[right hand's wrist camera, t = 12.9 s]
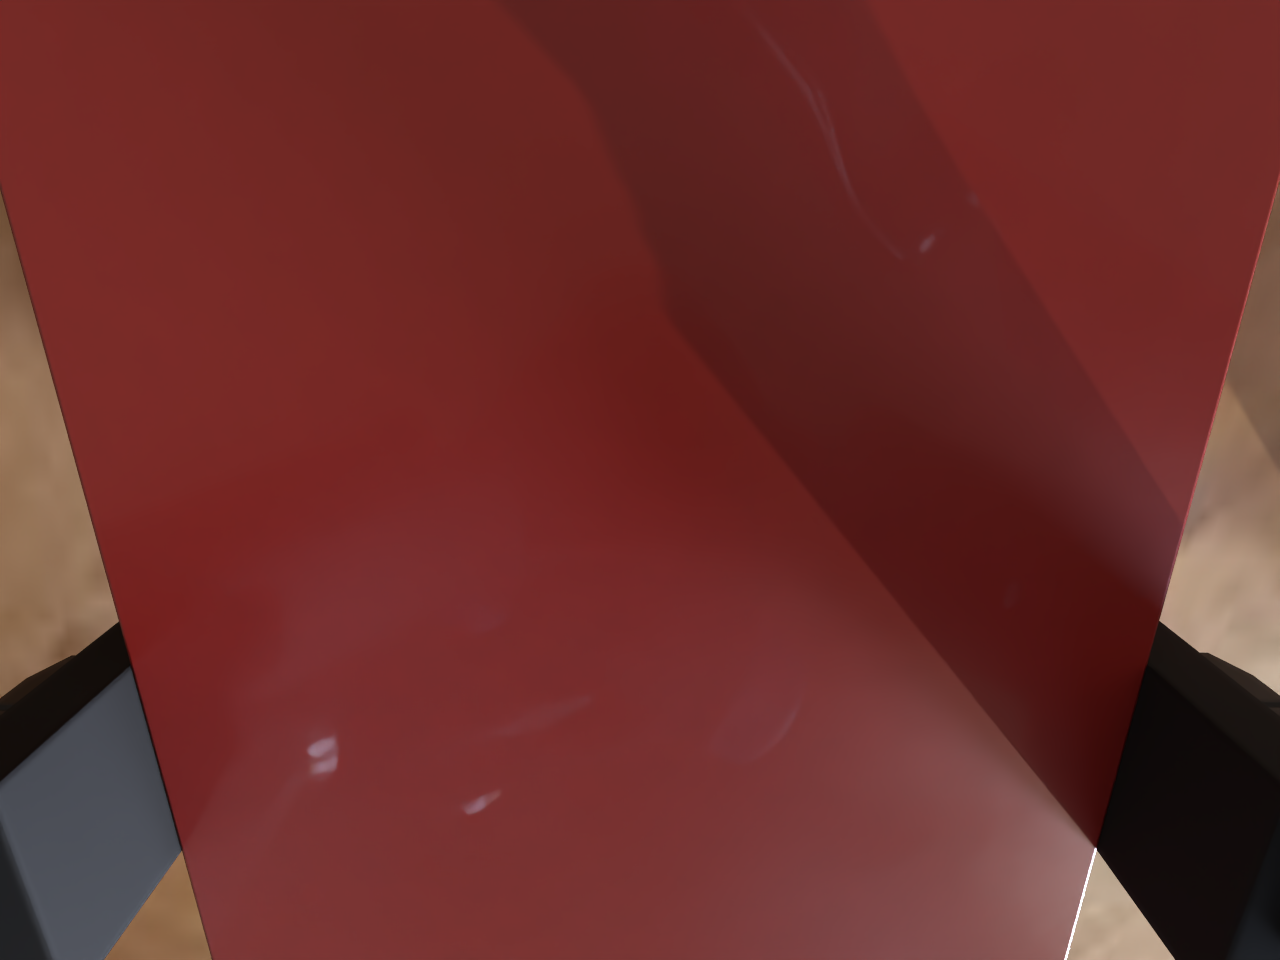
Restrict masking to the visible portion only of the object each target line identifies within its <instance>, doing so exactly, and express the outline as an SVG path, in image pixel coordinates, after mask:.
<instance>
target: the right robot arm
mask: <svg viewBox="0 0 1280 960" xmlns="http://www.w3.org/2000/svg"><path fill="white" fill-rule="evenodd" d="M181 851H182V848H181V845H180V841H179V838H178V834H177V830H176V827H175V823H174V819H173V816H172V812H171V808H170V805H169V801H168V798H167V794H166V790H165V787H164V783H163V779H162V776H161V772H160V768H159V765H158V761H157V757H156V754H155V750H154V747H153V743H152V739H151V736H150V732H149V728H148V725H147V721H146V717H145V714H144V710H143V707H142V703H141V699H140V696H139V692H138V688H137V685H136V681H135V677H134V674H133V670H132V667H131V663H130V659H129V656H128V652H127V648H126V645H125V641H124V637H123V634H122V630H121V627H120V623H119V622H118V623H117V624H115V625H114V626H113V627H111V628H110V629H109V630H108V631H106V632H105V633H104V634H103V635H101V636H100V637H99V638H98V639H96V640H95V641H94V642H92V643H91V644H90V645H89V646H87V647H86V648H85V649H84V650H82V651H81V652H80V653H79V654H77V655H76V656H70V657H68V658H66V659H64V660H62V661H60V662H58V663H56V664H54V665H52V666H50V667H48V668H46V669H44V670H42V671H40V672H38V673H36V674H34V675H32V676H30V677H28V678H26V679H25V680H24V681H23V682H21V683H20V684H19V685H17V686H16V687H15V688H13V689H12V690H11V691H9V692H8V693H7V694H6V695H4V696H3V697H2V698H0V960H104V959H105V957H106V956H107V955H108V953H109V952H110V950H111V949H112V948H113V946H114V945H115V943H116V942H117V941H118V939H119V938H120V936H121V935H122V934H123V932H124V931H125V929H126V928H127V927H128V925H129V924H130V922H131V921H132V920H133V918H134V917H135V915H136V914H137V913H138V911H139V910H140V908H141V907H142V906H143V904H144V903H145V901H146V900H147V899H148V897H149V896H150V894H151V893H152V892H153V890H154V889H155V887H156V886H157V885H158V883H159V882H160V880H161V879H162V878H163V876H164V875H165V873H166V872H167V871H168V869H169V868H170V866H171V865H172V864H173V862H174V861H175V859H176V858H177V857H178V855H179V854H180V852H181ZM1097 851H1098V852H1099V854H1100V855H1101V856H1102V858H1103V859H1104V861H1105V862H1106V863H1107V865H1108V866H1109V868H1110V869H1111V870H1112V872H1113V873H1114V875H1115V876H1116V877H1117V879H1118V880H1119V882H1120V883H1121V884H1122V886H1123V887H1124V889H1125V890H1126V891H1127V893H1128V894H1129V896H1130V897H1131V898H1132V900H1133V901H1134V903H1135V904H1136V905H1137V907H1138V908H1139V910H1140V911H1141V912H1142V914H1143V915H1144V917H1145V918H1146V919H1147V921H1148V922H1149V924H1150V925H1151V926H1152V928H1153V929H1154V931H1155V932H1156V933H1157V935H1158V936H1159V938H1160V939H1161V940H1162V942H1163V943H1164V945H1165V946H1166V947H1167V949H1168V950H1169V952H1170V953H1171V954H1172V956H1173V957H1174V959H1175V960H1280V695H1278V694H1277V693H1276V692H1274V691H1273V690H1272V689H1270V688H1269V687H1268V686H1266V685H1265V684H1264V683H1262V682H1261V681H1260V680H1258V679H1257V678H1256V677H1254V676H1253V675H1251V674H1249V673H1247V672H1245V671H1243V670H1241V669H1239V668H1237V667H1235V666H1233V665H1231V664H1229V663H1227V662H1225V661H1223V660H1221V659H1219V658H1217V657H1215V656H1213V655H1211V654H1209V653H1199V652H1198V651H1197V650H1195V649H1194V648H1193V647H1192V646H1190V645H1189V644H1188V643H1187V642H1185V641H1184V640H1183V639H1181V638H1180V637H1179V636H1178V635H1176V634H1175V633H1174V632H1173V631H1171V630H1170V629H1169V628H1168V627H1166V626H1165V625H1164V624H1162V623H1161V622H1160V621H1159V623H1158V626H1157V630H1156V634H1155V637H1154V641H1153V645H1152V648H1151V652H1150V656H1149V659H1148V663H1147V667H1146V670H1145V674H1144V678H1143V681H1142V685H1141V689H1140V692H1139V696H1138V699H1137V703H1136V707H1135V710H1134V714H1133V718H1132V721H1131V725H1130V729H1129V732H1128V736H1127V740H1126V743H1125V747H1124V751H1123V754H1122V758H1121V762H1120V765H1119V769H1118V773H1117V776H1116V780H1115V784H1114V787H1113V791H1112V795H1111V798H1110V802H1109V805H1108V809H1107V813H1106V816H1105V820H1104V824H1103V827H1102V831H1101V835H1100V838H1099V842H1098V846H1097Z"/></svg>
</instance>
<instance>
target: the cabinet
mask: <svg viewBox="0 0 1280 960" xmlns="http://www.w3.org/2000/svg"><path fill="white" fill-rule="evenodd" d="M1279 181H1280V0H0V190H1V194H2V197H3V201H4V205H5V208H6V212H7V215H8V219H9V223H10V226H11V230H12V234H13V237H14V241H15V245H16V248H17V252H18V255H19V259H20V263H21V266H22V270H23V274H24V277H25V281H26V285H27V288H28V292H29V295H30V299H31V303H32V306H33V310H34V314H35V317H36V321H37V325H38V328H39V332H40V336H41V339H42V343H43V346H44V350H45V354H46V357H47V361H48V365H49V368H50V372H51V376H52V379H53V383H54V386H55V390H56V394H57V397H58V401H59V405H60V408H61V412H62V416H63V419H64V423H65V426H66V430H67V434H68V437H69V441H70V445H71V448H72V452H73V456H74V459H75V463H76V466H77V470H78V474H79V477H80V481H81V485H82V488H83V492H84V496H85V499H86V503H87V506H88V510H89V514H90V517H91V521H92V525H93V528H94V532H95V536H96V539H97V543H98V546H99V550H100V554H101V557H102V561H103V565H104V568H105V572H106V576H107V579H108V583H109V587H110V590H111V594H112V597H113V601H114V605H115V608H116V612H117V616H118V619H119V623H120V627H121V630H122V634H123V637H124V641H125V645H126V648H127V652H128V656H129V659H130V663H131V667H132V670H133V674H134V677H135V681H136V685H137V688H138V692H139V696H140V699H141V703H142V707H143V710H144V714H145V717H146V721H147V725H148V728H149V732H150V736H151V739H152V743H153V747H154V750H155V754H156V757H157V761H158V765H159V768H160V772H161V776H162V779H163V783H164V787H165V790H166V794H167V798H168V801H169V805H170V808H171V812H172V816H173V819H174V823H175V827H176V830H177V834H178V838H179V841H180V845H181V848H182V852H183V856H184V859H185V863H186V867H187V870H188V874H189V878H190V881H191V885H192V888H193V892H194V896H195V899H196V903H197V907H198V910H199V914H200V918H201V921H202V925H203V928H204V932H205V936H206V939H207V943H208V947H209V950H210V954H211V958H212V960H1066V959H1067V955H1068V952H1069V948H1070V944H1071V941H1072V937H1073V933H1074V930H1075V926H1076V922H1077V919H1078V915H1079V911H1080V908H1081V904H1082V900H1083V897H1084V893H1085V890H1086V886H1087V882H1088V879H1089V875H1090V871H1091V868H1092V864H1093V860H1094V857H1095V853H1096V849H1097V846H1098V842H1099V838H1100V835H1101V831H1102V827H1103V824H1104V820H1105V816H1106V813H1107V809H1108V805H1109V802H1110V798H1111V795H1112V791H1113V787H1114V784H1115V780H1116V776H1117V773H1118V769H1119V765H1120V762H1121V758H1122V754H1123V751H1124V747H1125V743H1126V740H1127V736H1128V732H1129V729H1130V725H1131V721H1132V718H1133V714H1134V710H1135V707H1136V703H1137V699H1138V696H1139V692H1140V689H1141V685H1142V681H1143V678H1144V674H1145V670H1146V667H1147V663H1148V659H1149V656H1150V652H1151V648H1152V645H1153V641H1154V637H1155V634H1156V630H1157V626H1158V623H1159V619H1160V615H1161V612H1162V608H1163V604H1164V601H1165V597H1166V594H1167V590H1168V586H1169V583H1170V579H1171V575H1172V572H1173V568H1174V564H1175V561H1176V557H1177V553H1178V550H1179V546H1180V542H1181V539H1182V535H1183V531H1184V528H1185V524H1186V520H1187V517H1188V513H1189V509H1190V506H1191V502H1192V498H1193V495H1194V491H1195V488H1196V484H1197V480H1198V477H1199V473H1200V469H1201V466H1202V462H1203V458H1204V455H1205V451H1206V447H1207V444H1208V440H1209V436H1210V433H1211V429H1212V425H1213V422H1214V418H1215V414H1216V411H1217V407H1218V403H1219V400H1220V396H1221V393H1222V389H1223V385H1224V382H1225V378H1226V374H1227V371H1228V367H1229V363H1230V360H1231V356H1232V352H1233V349H1234V345H1235V341H1236V338H1237V334H1238V330H1239V327H1240V323H1241V319H1242V316H1243V312H1244V308H1245V305H1246V301H1247V297H1248V294H1249V290H1250V287H1251V283H1252V279H1253V276H1254V272H1255V268H1256V265H1257V261H1258V257H1259V254H1260V250H1261V246H1262V243H1263V239H1264V235H1265V232H1266V228H1267V224H1268V221H1269V217H1270V213H1271V210H1272V206H1273V202H1274V199H1275V195H1276V192H1277V188H1278V184H1279Z"/></svg>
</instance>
